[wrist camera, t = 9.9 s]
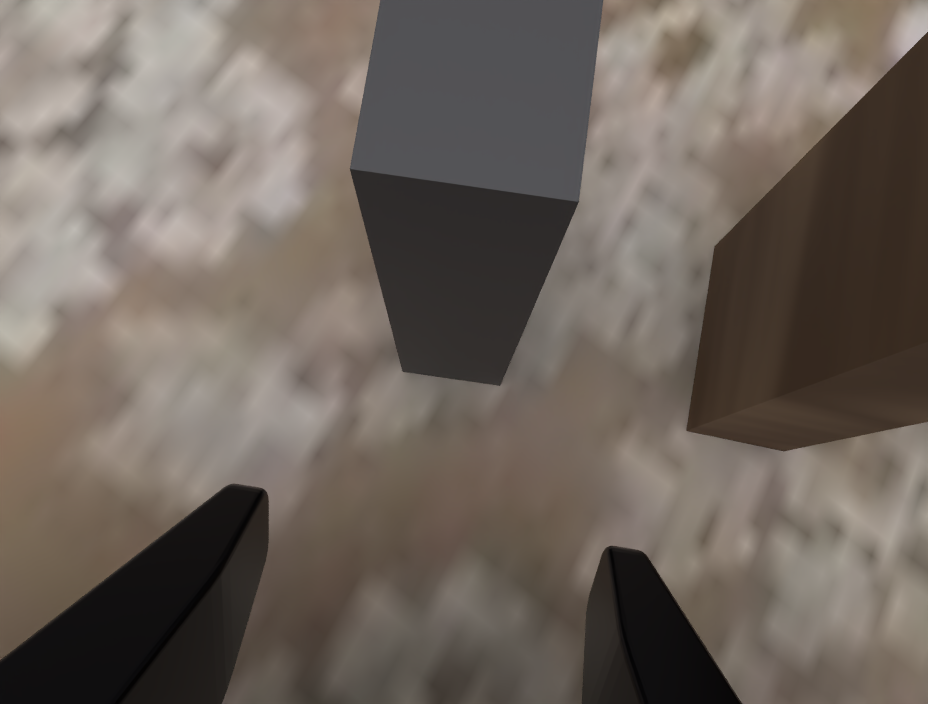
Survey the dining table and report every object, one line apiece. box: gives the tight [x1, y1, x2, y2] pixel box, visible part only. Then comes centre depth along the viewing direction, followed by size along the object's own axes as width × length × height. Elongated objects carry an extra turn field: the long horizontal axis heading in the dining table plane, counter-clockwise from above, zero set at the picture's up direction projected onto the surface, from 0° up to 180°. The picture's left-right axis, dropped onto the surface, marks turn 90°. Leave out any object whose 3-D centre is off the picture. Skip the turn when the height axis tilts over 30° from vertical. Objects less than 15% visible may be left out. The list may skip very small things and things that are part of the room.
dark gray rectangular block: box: [350, 0, 603, 386], centre depth 13 cm, size 2×4×10 cm, turn 172°
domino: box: [687, 32, 928, 451], centre depth 12 cm, size 2×4×10 cm, turn 168°
